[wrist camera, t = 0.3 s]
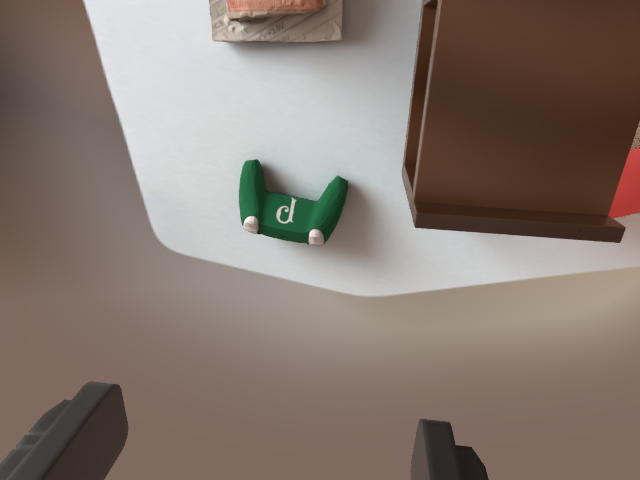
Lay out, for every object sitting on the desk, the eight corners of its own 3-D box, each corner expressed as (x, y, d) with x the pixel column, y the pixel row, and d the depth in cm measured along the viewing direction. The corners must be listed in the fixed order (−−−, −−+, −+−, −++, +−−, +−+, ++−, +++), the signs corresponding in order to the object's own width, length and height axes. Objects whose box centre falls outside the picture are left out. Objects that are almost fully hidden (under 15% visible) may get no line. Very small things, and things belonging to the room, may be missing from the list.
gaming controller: (249, 174, 41) (232, 233, 39) (244, 153, 37) (225, 217, 35) (346, 194, 41) (334, 254, 39) (350, 174, 37) (337, 239, 35)
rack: (423, -12, 32) (451, -42, 21) (595, -7, 31) (718, -35, 20) (401, 174, 38) (414, 227, 27) (545, 184, 37) (620, 243, 26)
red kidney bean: (562, 132, 36) (558, 179, 32) (703, 128, 32) (716, 182, 28) (557, 182, 39) (553, 230, 36) (684, 184, 35) (693, 239, 32)
